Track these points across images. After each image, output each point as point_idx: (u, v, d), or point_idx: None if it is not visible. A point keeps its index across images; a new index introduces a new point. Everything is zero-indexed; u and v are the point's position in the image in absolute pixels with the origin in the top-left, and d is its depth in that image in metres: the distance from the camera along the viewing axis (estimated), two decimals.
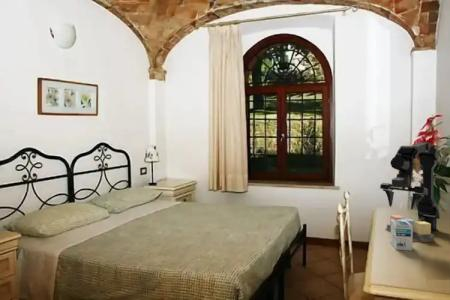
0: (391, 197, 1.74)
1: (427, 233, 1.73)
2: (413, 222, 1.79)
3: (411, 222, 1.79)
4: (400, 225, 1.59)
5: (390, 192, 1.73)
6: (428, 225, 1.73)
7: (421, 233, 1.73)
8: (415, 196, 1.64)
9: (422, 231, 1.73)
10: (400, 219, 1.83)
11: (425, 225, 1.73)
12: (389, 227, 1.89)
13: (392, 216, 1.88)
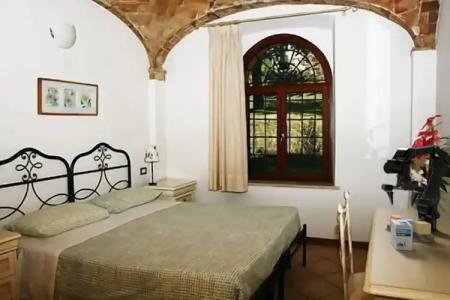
0: None
1: (427, 233, 1.73)
2: (413, 222, 1.79)
3: (411, 222, 1.79)
4: (400, 225, 1.59)
5: None
6: (428, 225, 1.73)
7: (421, 233, 1.73)
8: (417, 195, 1.84)
9: (422, 231, 1.73)
10: (400, 219, 1.83)
11: (425, 225, 1.73)
12: (389, 227, 1.89)
13: (392, 216, 1.88)
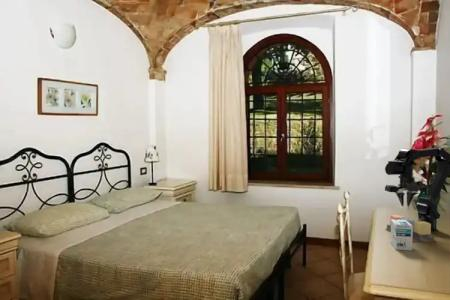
0: None
1: (427, 233, 1.73)
2: (413, 222, 1.79)
3: (411, 222, 1.79)
4: (400, 225, 1.59)
5: None
6: (428, 225, 1.73)
7: (421, 233, 1.73)
8: (413, 195, 1.87)
9: (422, 231, 1.73)
10: (400, 219, 1.83)
11: (425, 225, 1.73)
12: (389, 227, 1.89)
13: (392, 216, 1.88)
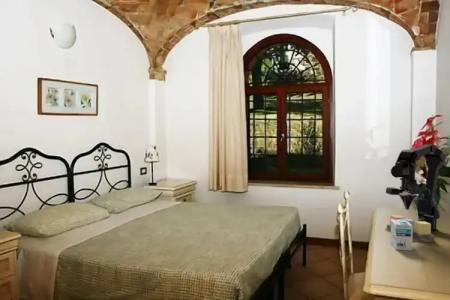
0: None
1: (427, 233, 1.73)
2: (413, 222, 1.79)
3: (411, 222, 1.79)
4: (400, 225, 1.59)
5: None
6: (428, 225, 1.73)
7: (421, 233, 1.73)
8: (413, 198, 1.79)
9: (422, 231, 1.73)
10: (400, 219, 1.83)
11: (425, 225, 1.73)
12: (389, 227, 1.89)
13: (392, 216, 1.88)
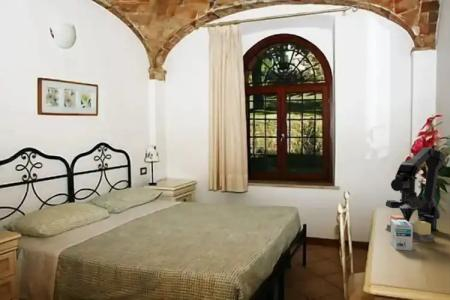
0: None
1: (427, 233, 1.73)
2: (413, 225, 1.79)
3: None
4: (400, 225, 1.59)
5: None
6: (428, 225, 1.73)
7: (421, 233, 1.73)
8: (413, 211, 1.79)
9: (422, 231, 1.73)
10: None
11: (425, 225, 1.73)
12: (389, 227, 1.89)
13: (392, 216, 1.88)
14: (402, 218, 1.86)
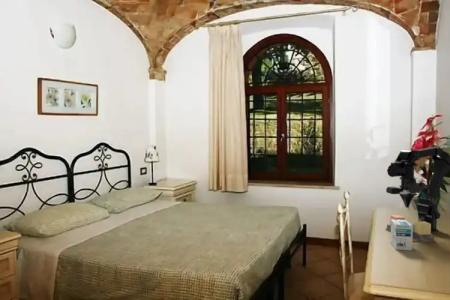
0: None
1: (427, 233, 1.73)
2: (413, 226, 1.79)
3: None
4: (400, 225, 1.59)
5: None
6: (428, 225, 1.73)
7: (421, 233, 1.73)
8: (412, 196, 1.85)
9: (422, 231, 1.73)
10: None
11: (425, 225, 1.73)
12: (389, 227, 1.89)
13: (392, 216, 1.88)
14: (402, 218, 1.86)
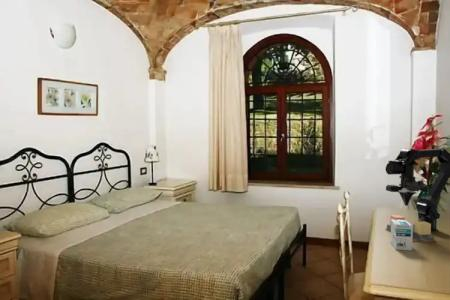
0: None
1: (427, 233, 1.73)
2: (413, 226, 1.79)
3: None
4: (400, 225, 1.59)
5: None
6: (428, 225, 1.73)
7: (421, 233, 1.73)
8: (412, 194, 1.88)
9: (422, 231, 1.73)
10: None
11: (425, 225, 1.73)
12: (389, 227, 1.89)
13: (392, 216, 1.88)
14: (402, 218, 1.86)
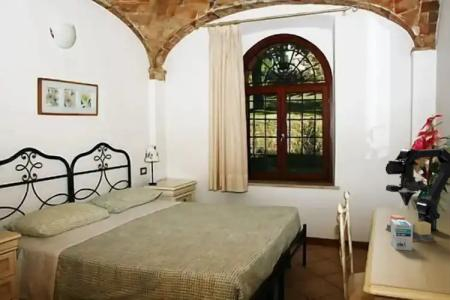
0: None
1: (427, 233, 1.73)
2: (413, 226, 1.79)
3: None
4: (400, 225, 1.59)
5: None
6: (428, 225, 1.73)
7: (421, 233, 1.73)
8: (412, 194, 1.88)
9: (422, 231, 1.73)
10: None
11: (425, 225, 1.73)
12: (389, 227, 1.89)
13: (392, 216, 1.88)
14: (402, 218, 1.86)
